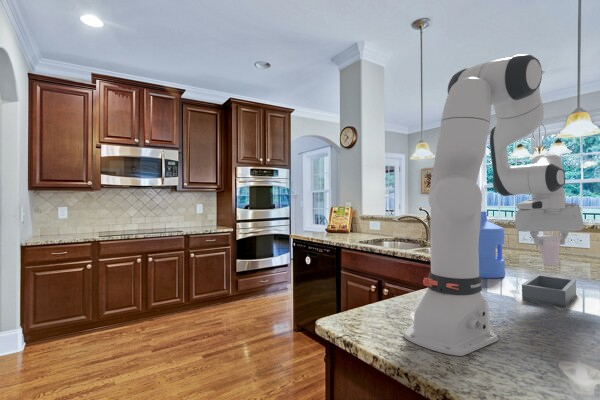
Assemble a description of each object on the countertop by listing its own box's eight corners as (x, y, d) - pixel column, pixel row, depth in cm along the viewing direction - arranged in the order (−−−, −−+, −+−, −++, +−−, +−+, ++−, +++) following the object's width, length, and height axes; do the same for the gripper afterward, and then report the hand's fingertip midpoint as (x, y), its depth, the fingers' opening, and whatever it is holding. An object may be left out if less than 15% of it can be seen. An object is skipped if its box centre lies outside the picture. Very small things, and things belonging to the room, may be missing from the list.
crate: (565, 307, 94) (565, 291, 94) (522, 299, 102) (521, 284, 103) (576, 294, 107) (576, 279, 108) (537, 288, 116) (536, 274, 116)
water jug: (469, 278, 132) (468, 212, 133) (460, 270, 148) (458, 211, 148) (511, 279, 129) (510, 211, 129) (497, 271, 144) (495, 210, 144)
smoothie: (566, 267, 100) (563, 223, 101) (541, 266, 103) (539, 223, 104) (559, 264, 106) (556, 223, 107) (536, 263, 109) (534, 223, 109)
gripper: (571, 202, 108) (573, 242, 108) (511, 204, 109) (512, 243, 108) (588, 202, 102) (589, 245, 101) (523, 204, 102) (525, 246, 102)
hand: (549, 244), depth 105 cm, fingers closed on smoothie, 6 cm apart
